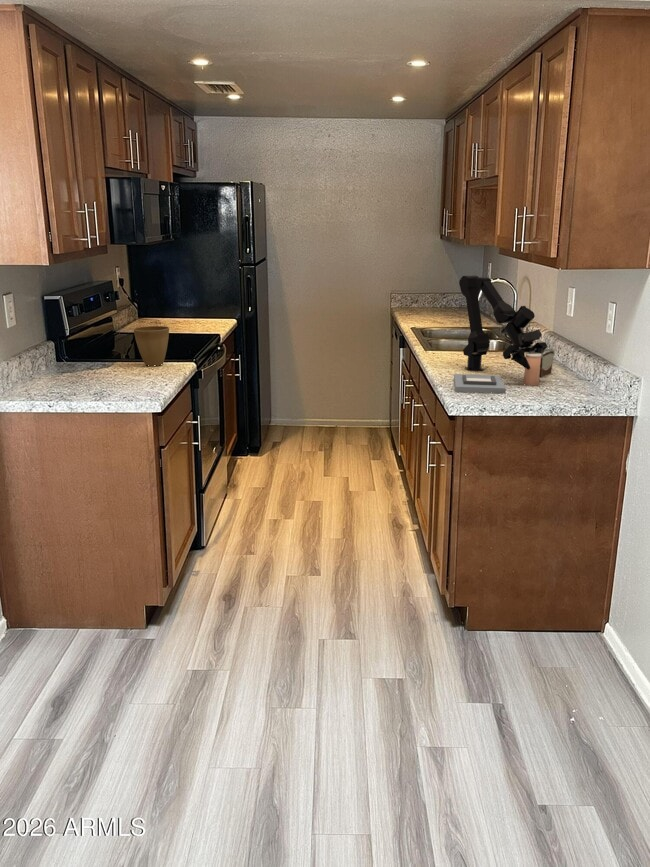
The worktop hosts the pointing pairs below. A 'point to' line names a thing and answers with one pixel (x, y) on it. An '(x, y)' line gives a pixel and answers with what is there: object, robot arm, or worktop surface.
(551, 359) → the food container
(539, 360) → the terracotta canister
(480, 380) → the dock
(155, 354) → the plant pot
